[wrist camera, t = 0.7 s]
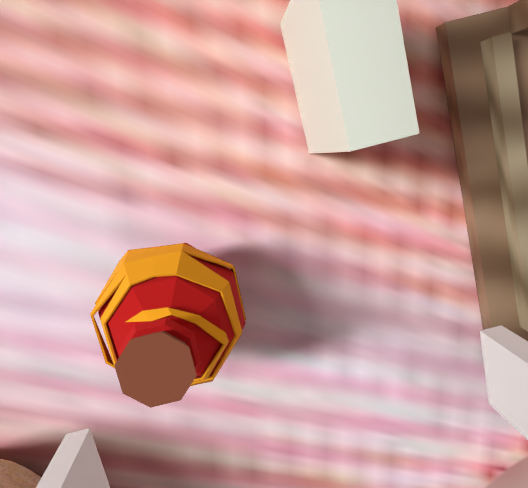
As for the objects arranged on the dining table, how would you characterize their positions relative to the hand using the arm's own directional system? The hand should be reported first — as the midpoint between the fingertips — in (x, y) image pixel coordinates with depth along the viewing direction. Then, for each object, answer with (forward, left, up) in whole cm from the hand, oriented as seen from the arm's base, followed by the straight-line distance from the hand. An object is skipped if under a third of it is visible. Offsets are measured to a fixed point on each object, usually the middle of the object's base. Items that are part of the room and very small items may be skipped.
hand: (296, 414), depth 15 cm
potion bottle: (+1, -6, -24) cm, 24 cm away
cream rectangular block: (-12, +9, -23) cm, 28 cm away
